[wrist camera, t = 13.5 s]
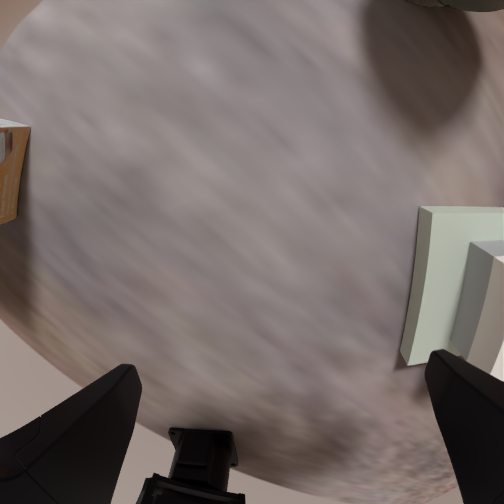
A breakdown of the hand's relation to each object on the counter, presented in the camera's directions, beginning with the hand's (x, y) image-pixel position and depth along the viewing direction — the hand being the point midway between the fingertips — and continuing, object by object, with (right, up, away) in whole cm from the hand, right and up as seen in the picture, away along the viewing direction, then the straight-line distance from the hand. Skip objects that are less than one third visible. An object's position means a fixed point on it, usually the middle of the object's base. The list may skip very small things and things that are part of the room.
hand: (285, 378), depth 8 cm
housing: (+17, +1, +11) cm, 20 cm away
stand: (+17, +1, +13) cm, 21 cm away
